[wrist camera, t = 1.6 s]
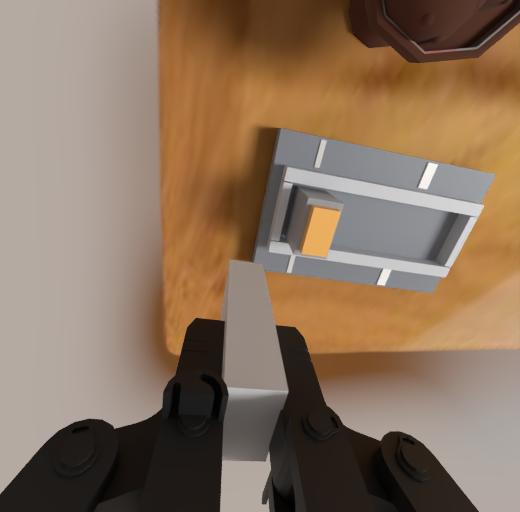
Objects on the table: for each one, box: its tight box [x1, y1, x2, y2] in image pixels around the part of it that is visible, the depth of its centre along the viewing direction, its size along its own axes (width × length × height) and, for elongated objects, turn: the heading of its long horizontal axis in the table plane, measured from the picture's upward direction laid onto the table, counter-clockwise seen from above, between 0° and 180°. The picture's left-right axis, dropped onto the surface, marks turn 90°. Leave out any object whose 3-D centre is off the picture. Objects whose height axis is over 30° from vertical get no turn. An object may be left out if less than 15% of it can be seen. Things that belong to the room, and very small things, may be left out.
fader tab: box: [284, 185, 344, 259], centre depth 24 cm, size 5×3×6 cm, turn 169°
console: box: [252, 128, 496, 293], centre depth 28 cm, size 14×22×4 cm, turn 79°
